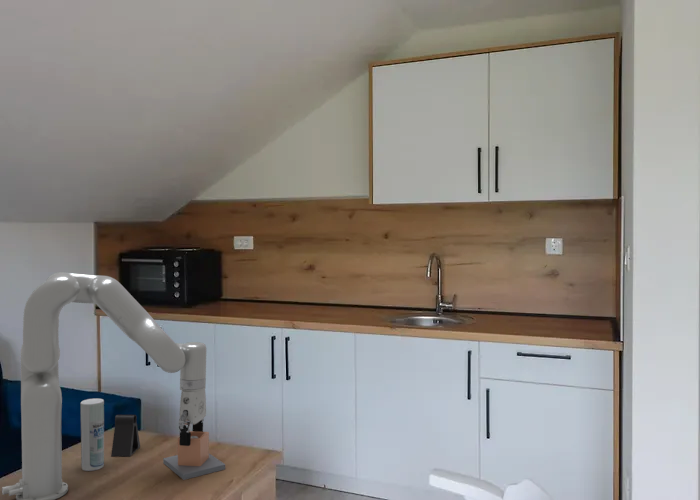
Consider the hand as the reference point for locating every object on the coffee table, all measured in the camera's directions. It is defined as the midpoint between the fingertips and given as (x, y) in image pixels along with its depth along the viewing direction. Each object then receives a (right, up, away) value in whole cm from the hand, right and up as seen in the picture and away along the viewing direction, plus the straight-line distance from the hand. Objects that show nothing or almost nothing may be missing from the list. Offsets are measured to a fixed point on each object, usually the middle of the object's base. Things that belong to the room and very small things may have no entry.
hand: (191, 440), depth 181 cm
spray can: (-30, -8, 0) cm, 31 cm away
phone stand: (-25, -8, +13) cm, 29 cm away
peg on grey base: (+1, -8, +1) cm, 8 cm away
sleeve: (+1, -7, 0) cm, 7 cm away
